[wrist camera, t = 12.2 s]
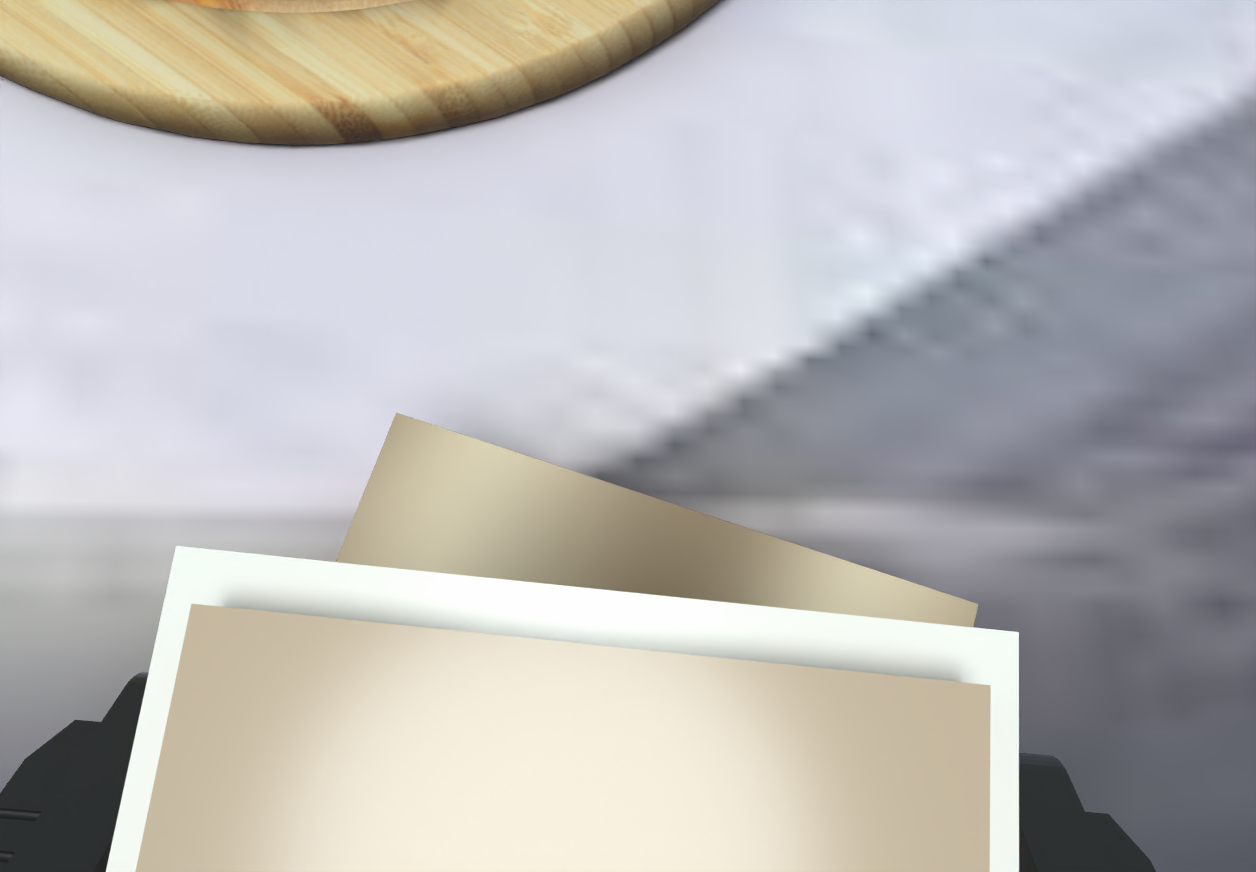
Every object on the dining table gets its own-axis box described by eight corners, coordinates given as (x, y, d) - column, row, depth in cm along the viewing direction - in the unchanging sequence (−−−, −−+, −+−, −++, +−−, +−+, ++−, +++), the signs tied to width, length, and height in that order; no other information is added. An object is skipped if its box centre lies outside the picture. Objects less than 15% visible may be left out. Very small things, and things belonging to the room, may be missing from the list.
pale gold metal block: (244, 969, 19) (131, 1064, 15) (438, 471, 22) (396, 412, 17) (758, 1153, 19) (816, 1313, 14) (892, 621, 22) (978, 604, 17)
